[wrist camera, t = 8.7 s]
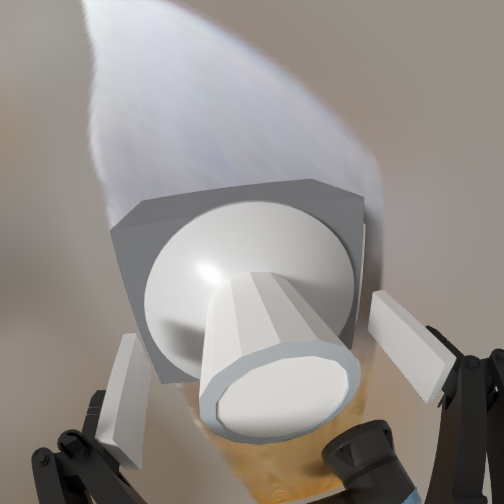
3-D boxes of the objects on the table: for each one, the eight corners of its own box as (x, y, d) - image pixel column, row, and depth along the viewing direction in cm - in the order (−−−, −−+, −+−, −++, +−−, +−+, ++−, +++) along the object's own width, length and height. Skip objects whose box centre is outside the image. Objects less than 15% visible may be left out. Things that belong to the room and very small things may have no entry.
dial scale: (321, 297, 29) (366, 357, 20) (170, 323, 27) (162, 397, 18) (321, 173, 24) (386, 191, 15) (140, 195, 22) (102, 227, 13)
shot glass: (287, 360, 18) (321, 442, 12) (187, 349, 16) (187, 443, 10) (326, 272, 16) (390, 344, 10) (210, 248, 14) (218, 330, 8)
